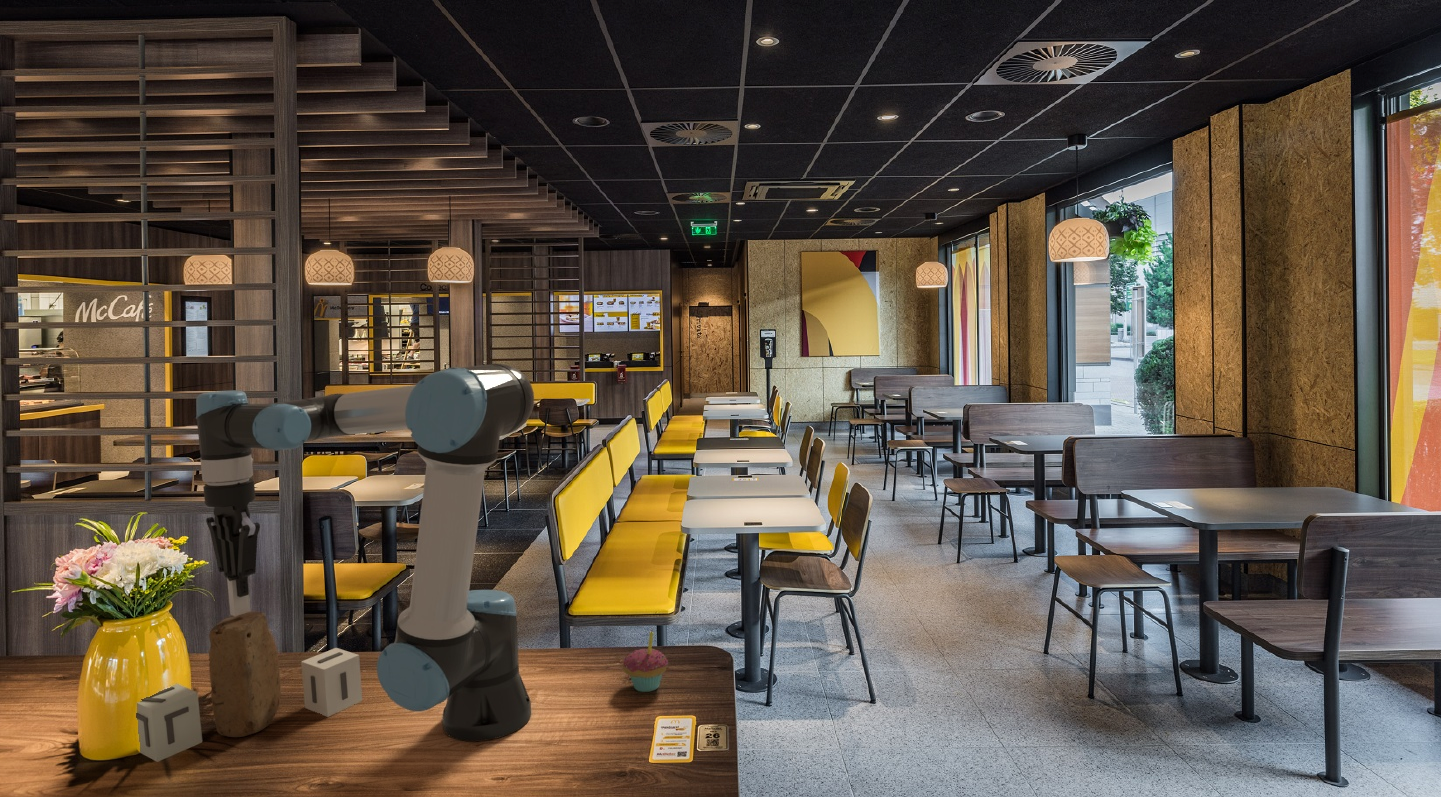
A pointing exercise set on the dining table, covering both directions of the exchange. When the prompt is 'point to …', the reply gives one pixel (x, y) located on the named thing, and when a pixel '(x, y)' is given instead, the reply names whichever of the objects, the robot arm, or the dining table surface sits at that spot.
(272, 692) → the block
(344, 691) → the numbered cube one
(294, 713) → the dining table surface
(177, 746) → the numbered cube seven
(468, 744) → the dining table surface
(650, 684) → the cupcake
